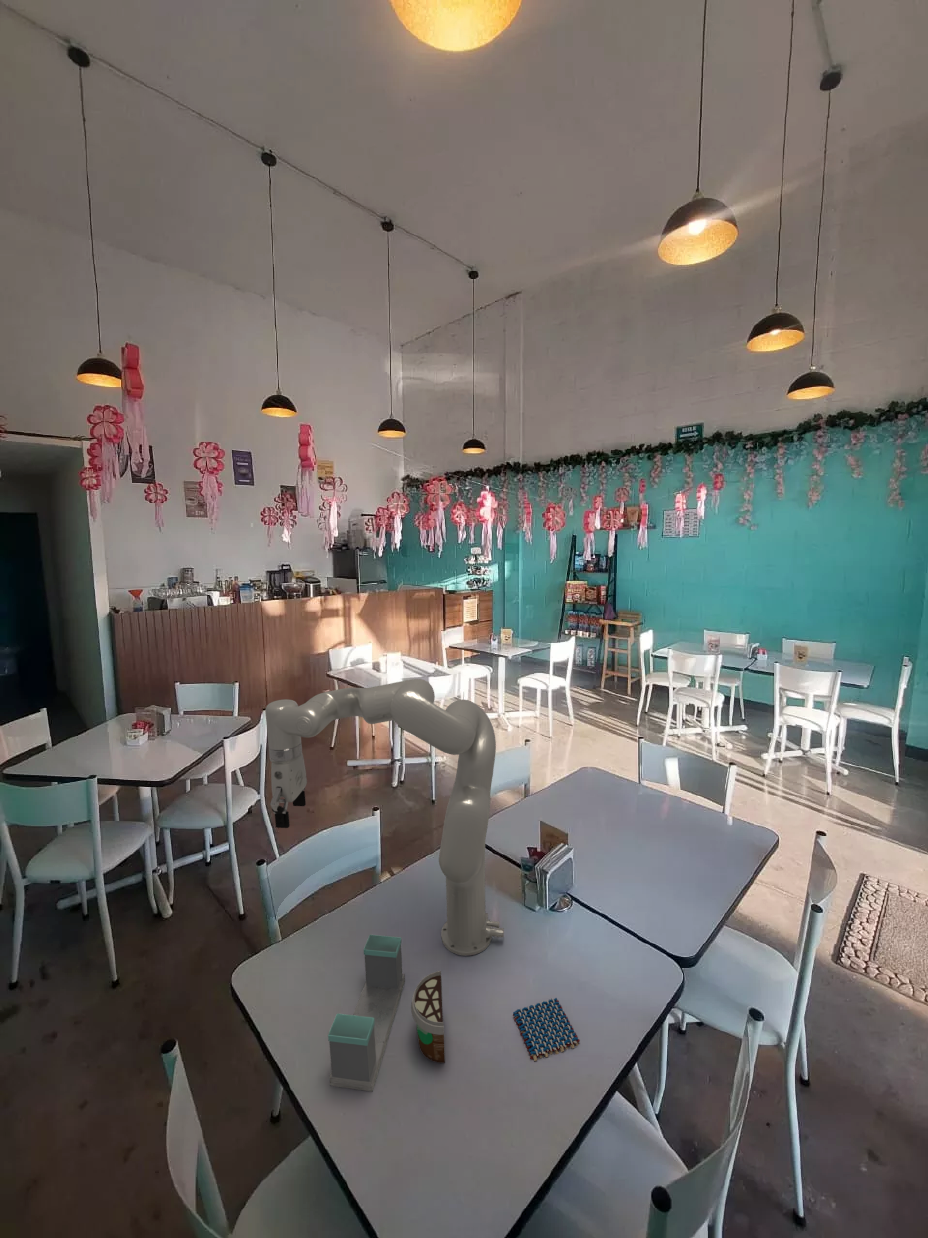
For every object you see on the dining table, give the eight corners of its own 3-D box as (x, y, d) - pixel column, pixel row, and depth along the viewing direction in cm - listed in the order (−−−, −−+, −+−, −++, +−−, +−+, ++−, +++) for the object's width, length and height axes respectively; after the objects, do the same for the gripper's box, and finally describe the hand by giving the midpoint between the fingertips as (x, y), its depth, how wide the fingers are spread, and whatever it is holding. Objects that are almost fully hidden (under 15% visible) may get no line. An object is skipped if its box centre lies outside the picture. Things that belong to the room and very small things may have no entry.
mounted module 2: (402, 973, 114) (401, 937, 112) (397, 989, 110) (396, 953, 108) (371, 970, 115) (369, 934, 113) (365, 986, 111) (363, 949, 109)
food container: (413, 1013, 106) (411, 971, 105) (442, 1010, 107) (441, 968, 105) (412, 1074, 94) (410, 1028, 93) (445, 1071, 95) (443, 1025, 93)
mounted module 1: (376, 1059, 95) (374, 1018, 94) (369, 1082, 91) (366, 1040, 90) (340, 1054, 96) (337, 1013, 95) (331, 1077, 92) (328, 1035, 91)
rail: (404, 981, 114) (404, 973, 114) (372, 1091, 91) (371, 1082, 91) (370, 977, 115) (370, 970, 115) (330, 1086, 93) (329, 1076, 92)
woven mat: (582, 1048, 99) (582, 1040, 98) (531, 1066, 96) (531, 1057, 96) (557, 1002, 109) (557, 994, 108) (511, 1016, 106) (511, 1008, 105)
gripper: (285, 767, 115) (291, 837, 117) (314, 737, 132) (318, 798, 134) (253, 767, 115) (260, 836, 118) (286, 736, 132) (291, 798, 135)
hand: (291, 816), depth 126 cm, fingers open, 9 cm apart
